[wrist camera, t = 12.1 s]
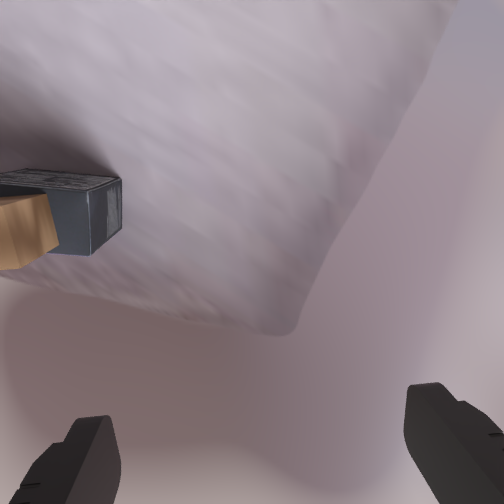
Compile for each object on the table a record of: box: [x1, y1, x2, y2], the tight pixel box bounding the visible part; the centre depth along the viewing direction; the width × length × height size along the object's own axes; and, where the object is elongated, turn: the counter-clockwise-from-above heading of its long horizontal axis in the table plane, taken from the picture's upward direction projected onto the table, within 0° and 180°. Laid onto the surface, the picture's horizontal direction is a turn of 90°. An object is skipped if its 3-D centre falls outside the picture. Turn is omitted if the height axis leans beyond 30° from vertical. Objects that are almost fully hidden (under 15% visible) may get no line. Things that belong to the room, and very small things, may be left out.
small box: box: [0, 169, 122, 257], centre depth 34 cm, size 11×6×10 cm, turn 84°
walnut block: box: [0, 194, 59, 270], centre depth 26 cm, size 4×4×6 cm
